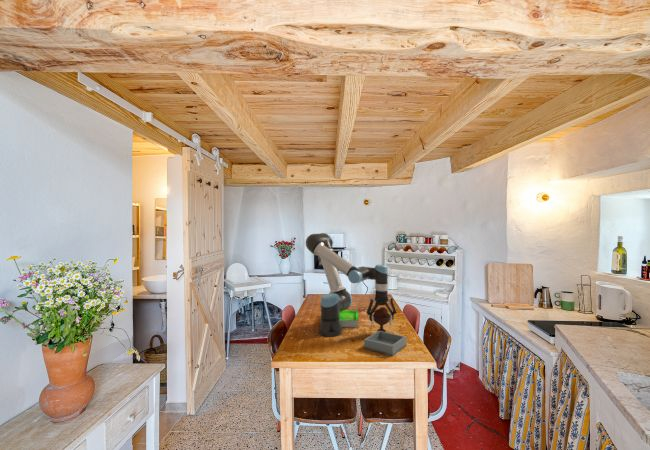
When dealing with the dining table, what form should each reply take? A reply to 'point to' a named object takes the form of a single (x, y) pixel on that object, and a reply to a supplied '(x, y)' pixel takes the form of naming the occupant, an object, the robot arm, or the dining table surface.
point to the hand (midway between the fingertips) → (381, 325)
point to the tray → (348, 318)
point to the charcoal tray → (385, 343)
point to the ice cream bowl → (381, 318)
